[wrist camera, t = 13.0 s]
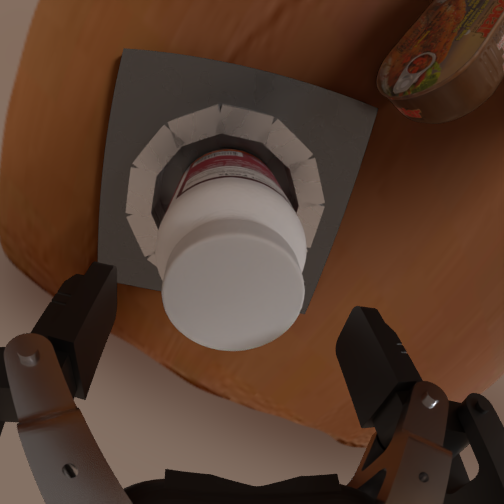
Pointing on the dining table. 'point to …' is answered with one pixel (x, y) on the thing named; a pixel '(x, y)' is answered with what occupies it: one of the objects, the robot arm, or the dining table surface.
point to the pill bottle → (231, 254)
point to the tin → (446, 61)
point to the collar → (222, 137)
